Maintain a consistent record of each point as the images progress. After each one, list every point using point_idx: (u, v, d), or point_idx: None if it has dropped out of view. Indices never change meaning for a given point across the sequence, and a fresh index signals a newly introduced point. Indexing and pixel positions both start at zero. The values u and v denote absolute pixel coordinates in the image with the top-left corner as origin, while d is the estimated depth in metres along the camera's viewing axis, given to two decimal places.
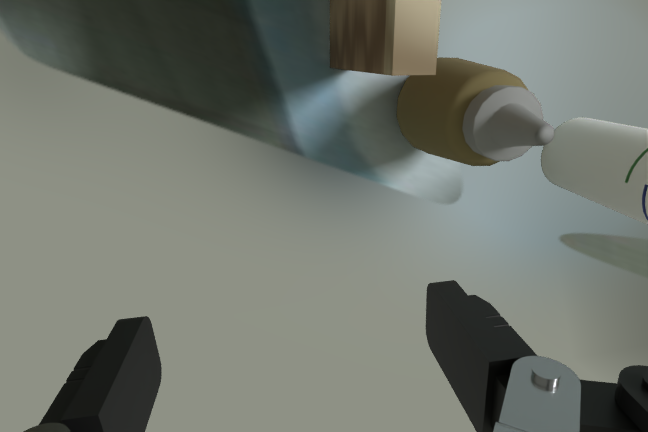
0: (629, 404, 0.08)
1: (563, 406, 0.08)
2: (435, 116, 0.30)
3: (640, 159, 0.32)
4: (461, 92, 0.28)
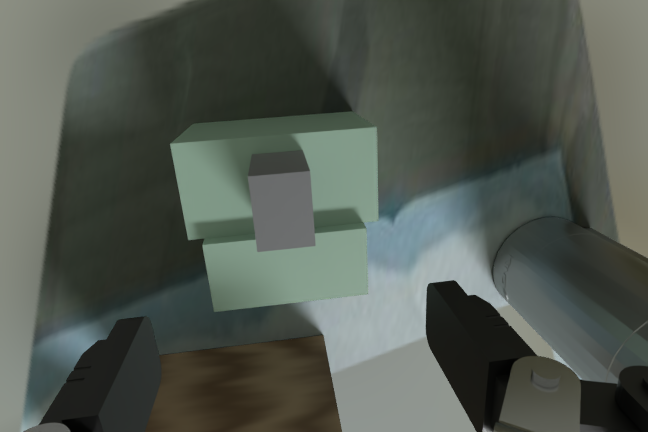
0: (629, 404, 0.08)
1: (563, 406, 0.08)
2: None
3: None
4: None
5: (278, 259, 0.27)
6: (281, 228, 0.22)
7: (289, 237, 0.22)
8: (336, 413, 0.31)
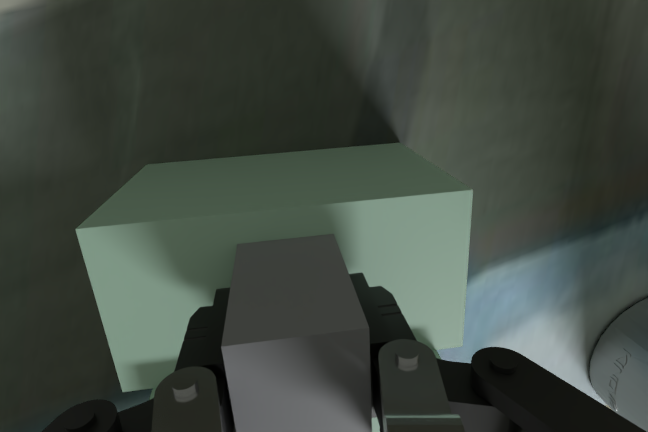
0: (486, 390, 0.08)
1: (411, 382, 0.08)
2: None
3: None
4: None
5: None
6: None
7: None
8: None
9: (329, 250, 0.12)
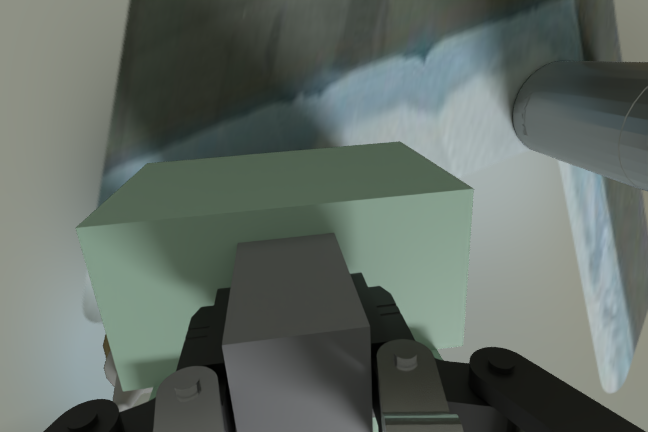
0: (484, 390, 0.08)
1: (410, 382, 0.08)
2: None
3: None
4: None
5: None
6: None
7: None
8: None
9: (330, 249, 0.12)
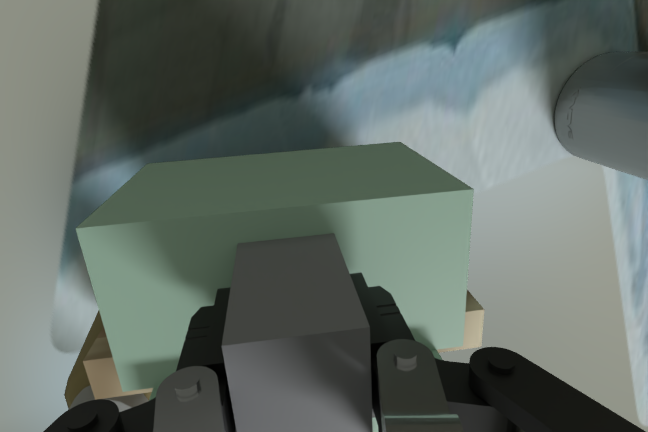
0: (485, 390, 0.08)
1: (410, 382, 0.08)
2: None
3: None
4: None
5: None
6: None
7: None
8: None
9: (329, 249, 0.12)
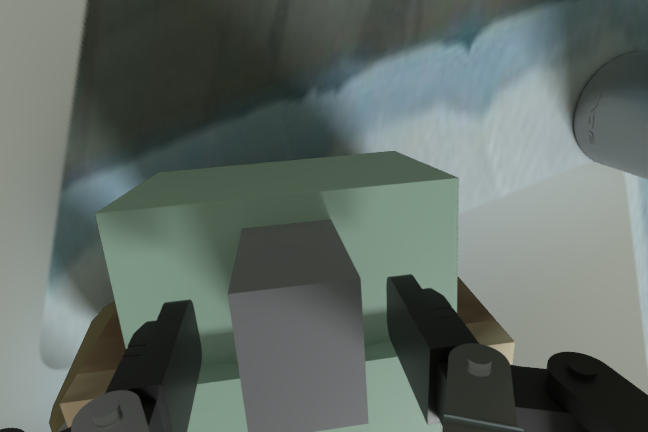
0: (559, 392, 0.08)
1: (490, 389, 0.08)
2: None
3: None
4: None
5: None
6: (299, 393, 0.10)
7: (315, 410, 0.11)
8: None
9: (326, 230, 0.13)
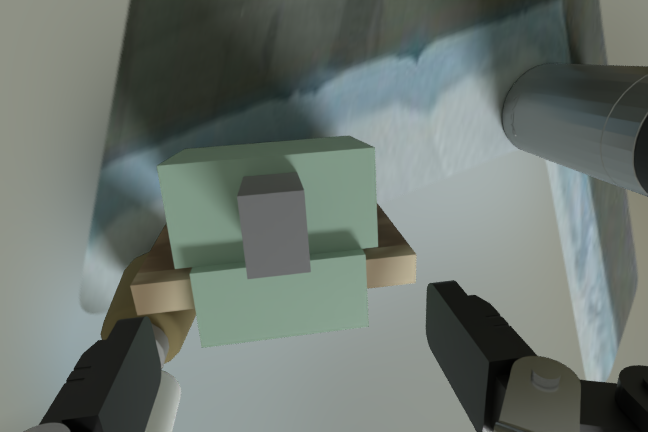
0: (629, 404, 0.08)
1: (563, 406, 0.08)
2: None
3: None
4: None
5: (272, 289, 0.25)
6: (273, 253, 0.20)
7: (282, 263, 0.20)
8: None
9: (292, 175, 0.23)
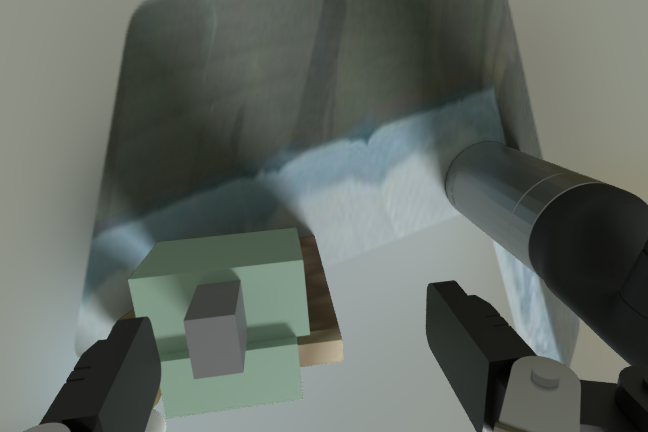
0: (629, 404, 0.08)
1: (563, 406, 0.08)
2: None
3: None
4: None
5: None
6: (213, 359, 0.26)
7: (220, 366, 0.26)
8: (323, 273, 0.42)
9: (235, 287, 0.29)
